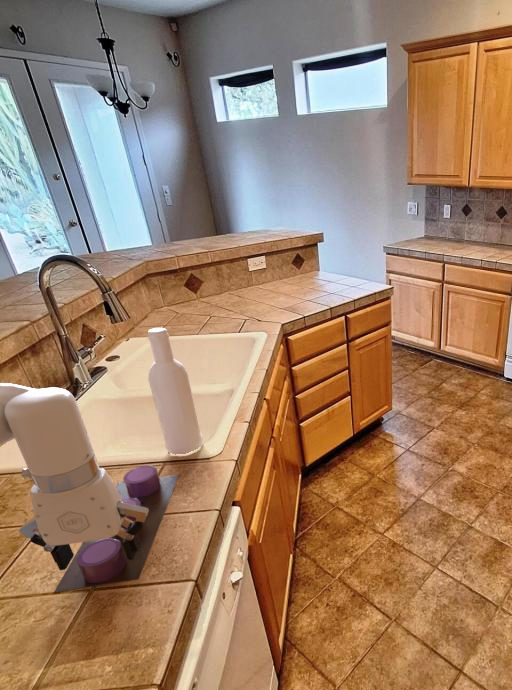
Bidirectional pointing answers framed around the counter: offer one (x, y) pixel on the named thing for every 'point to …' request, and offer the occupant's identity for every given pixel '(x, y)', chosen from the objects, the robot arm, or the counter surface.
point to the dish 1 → (102, 560)
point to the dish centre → (133, 502)
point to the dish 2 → (142, 481)
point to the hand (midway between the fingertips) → (101, 558)
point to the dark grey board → (146, 535)
